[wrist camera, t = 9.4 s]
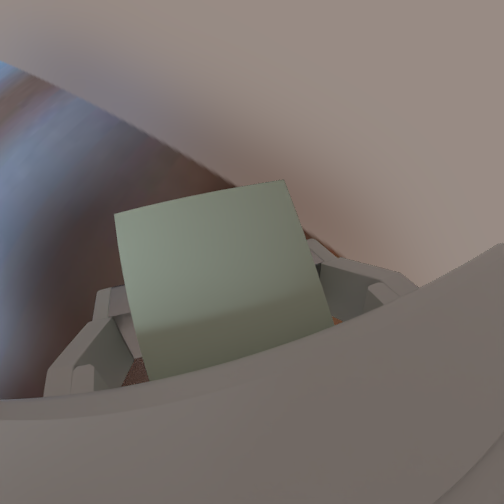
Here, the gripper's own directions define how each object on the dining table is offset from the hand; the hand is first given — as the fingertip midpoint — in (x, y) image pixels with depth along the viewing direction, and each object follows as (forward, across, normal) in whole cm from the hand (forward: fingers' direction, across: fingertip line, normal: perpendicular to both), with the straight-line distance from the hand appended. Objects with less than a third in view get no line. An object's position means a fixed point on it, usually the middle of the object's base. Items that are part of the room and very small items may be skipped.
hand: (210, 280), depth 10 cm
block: (+3, 0, +4) cm, 5 cm away
